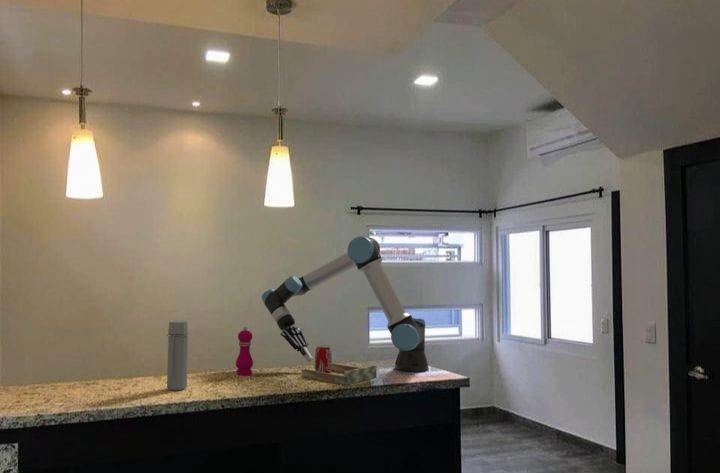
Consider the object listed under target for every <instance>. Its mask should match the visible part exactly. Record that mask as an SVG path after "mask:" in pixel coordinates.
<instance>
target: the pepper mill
mask: <svg viewBox="0 0 720 473" xmlns="http://www.w3.org/2000/svg"><path fill="white" fill-rule="evenodd" d="M237 339H238V341H239V342H238V343H239V344H238V346H239V353H238V356H237V358H236V361H235V366H236V368H237V369H236V375H237V376H243V377H245V376H250V375H252V373H253V370H252V367H253V366H254V360H253V358H252V354H251V352H250V346H251V345H252V344H251V343H252V342H251V340H252V339H253V333H252V332H251V331H250V330H248V327H247V326H244V327H243V328H242V330H240V331H239V332H238V335H237Z"/></svg>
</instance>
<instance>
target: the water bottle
mask: <svg viewBox="0 0 720 473" xmlns="http://www.w3.org/2000/svg"><path fill="white" fill-rule="evenodd" d="M188 325H189V324H188V320H171V321H169V322H168V329H167V334H166V337H168V341H167V342H168V343H167V346H168V347H167V350H168V351H167V371H166V372H167V377H166V388H167V389H168V390H169V391H174V392H175V391H176V392H178V391H183V390H186V389H187V387H188V361H189V359H188V358H189V356H188V353H189V335H190V333H189V326H188Z"/></svg>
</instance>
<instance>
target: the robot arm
mask: <svg viewBox="0 0 720 473" xmlns="http://www.w3.org/2000/svg"><path fill="white" fill-rule="evenodd" d="M380 252H381V247H380V244H379V242H378V241H377V240H376V239H375V238H373V237H371V236H370V237H369V236H364V235H359V236H357V237H354V238H352V239H351V240H350V241H349V243H348V245H347V252H345V253H344V254H342V255H340V256H338V257H336V258H334V259H333V260H331V261H329V262H327V263H325V264H323V265H321V266H320V267H318V268H315V269H314V270H311V271H310V272H308V273H306V274H304V275H302V276H300V277H299V278H298V277H297V276H295V275H293V274H292V275H290V276H289V277H288V278H286V279H285V280H284V281H283V282H282V283H281V284H280V285H279V286H278V287H277V288H276V289H275V288H270V289H267V290H265V291H264V292H263V293H262V295H261V300H262V302H263V304H264V306H265V308H267V310H268V312H269V314H270V315H271V317H272V318H273V320H274V322H275V323H276V325H277V326H278V328H279V329H280V330H281V333H280V336H281V337H283V339H285V340H286V341H287V343H288V344H289V345H290V346H291V347H292V349H294V350H296V351H297V352H298V353H299V352H300V354H301V355H302V357H303V358H304V359H305V361H306V363H311V362H312V360H313V359H314V357H313V356H312V354H311V353H310V352H311V351H310V350H309V349H308V346H309V342H308V339H307V338H306V335H305V332H304V329H303V327H301V328H299V327H298V326H297V324H296V323H295V318H294V317H293V316H292V314H291V312H290V310H289V309H288V308H287V306H286V303H287V302H288V301H289V300H290V299H291V298H292V297H296V296H303V295H305V294H307V293H308V292H309V291H311V290H313V289H315V288H317V287H318V286H321V285H323V284H325V283H326V282H328V281H331V280H333V279H334V278H336V277H338V276H341V275H342V274H343V273H346V272H347V271H350V270H352V269H353V268H355V267H356V268H357V270H358V271H359V272H360V273H361V272H362V273H363V274H364V276H365V278H366V280H367V282H368V284H369V286H370V288H371V290H372V292H373V294H374V296H375V298H376V300H377V302H378V304H379V306H380V308H381V310H382V312H383V314H384V316H385V318H386V320H387V324H386V327H387V329H388V331H389V334H390V339H391V342H392V344H393V346H394V347H395V348H396V349H398V353H397V357H396V360H395V363H394V369H395V370H396V371H401V372H413V373H414V372H415V373H416V372H425V371H428V370H429V362H428V360H427V356H426V355H427V354H426V352H425V350H426V349H425V346H426V345H425V344H426V342H425V341H426V339H425V337H426V320H425V319H424V318H420V317H419V318H417V317H413V316H412V314H411V313H408V312H406V311H405V308H404V306H403V304H402V302H401V300H400V298H399V296H398V294H397V293H396V290H395V289H394V286H393V284H392V282H391V281H390V279H389V277H388V275H387V273H386V271H385V269H384V267H383V265H382V262H383V257H382V255H381V254H380Z"/></svg>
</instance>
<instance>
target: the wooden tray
mask: <svg viewBox="0 0 720 473" xmlns="http://www.w3.org/2000/svg"><path fill="white" fill-rule="evenodd" d="M377 368H378V367H377V365H376V364H374V365H368V366H364V367H358V366H354V365H352V366H351V365H346V364H340V363H332V362H331V371H332V370H333V372H338V371H340V372H339V373H344V374H343V375H341V374H335V373H324V372H318V371H315V370H311V369H305V368H302V369H301V377H304V378H307V377H308V378H307V379H313V380H320V381H324V382H325V381H326V382H330V383H336V384H340V385H341V384H342V385H350V384H355V383H358V382H364V381H367V380H371V379H375V378H377V374H378V373H377V370H378V369H377Z"/></svg>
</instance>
